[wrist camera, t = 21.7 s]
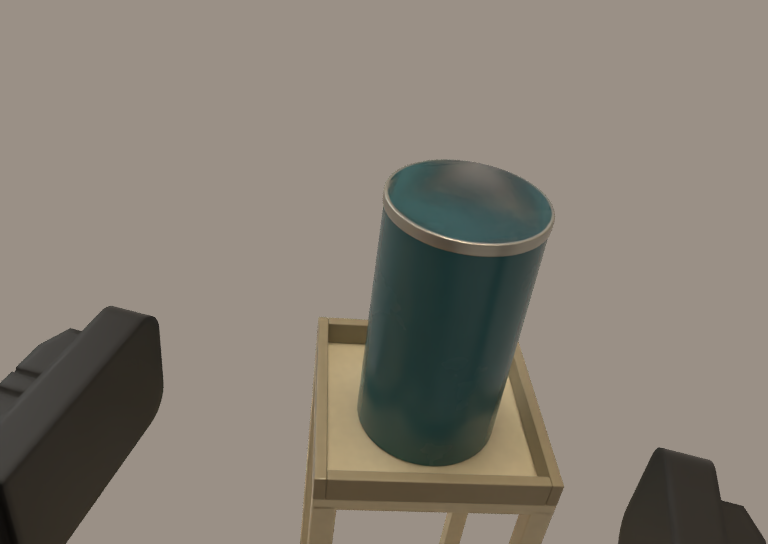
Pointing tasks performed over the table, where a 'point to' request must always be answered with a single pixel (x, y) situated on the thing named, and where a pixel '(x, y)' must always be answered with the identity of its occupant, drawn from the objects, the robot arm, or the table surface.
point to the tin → (448, 306)
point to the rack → (412, 481)
